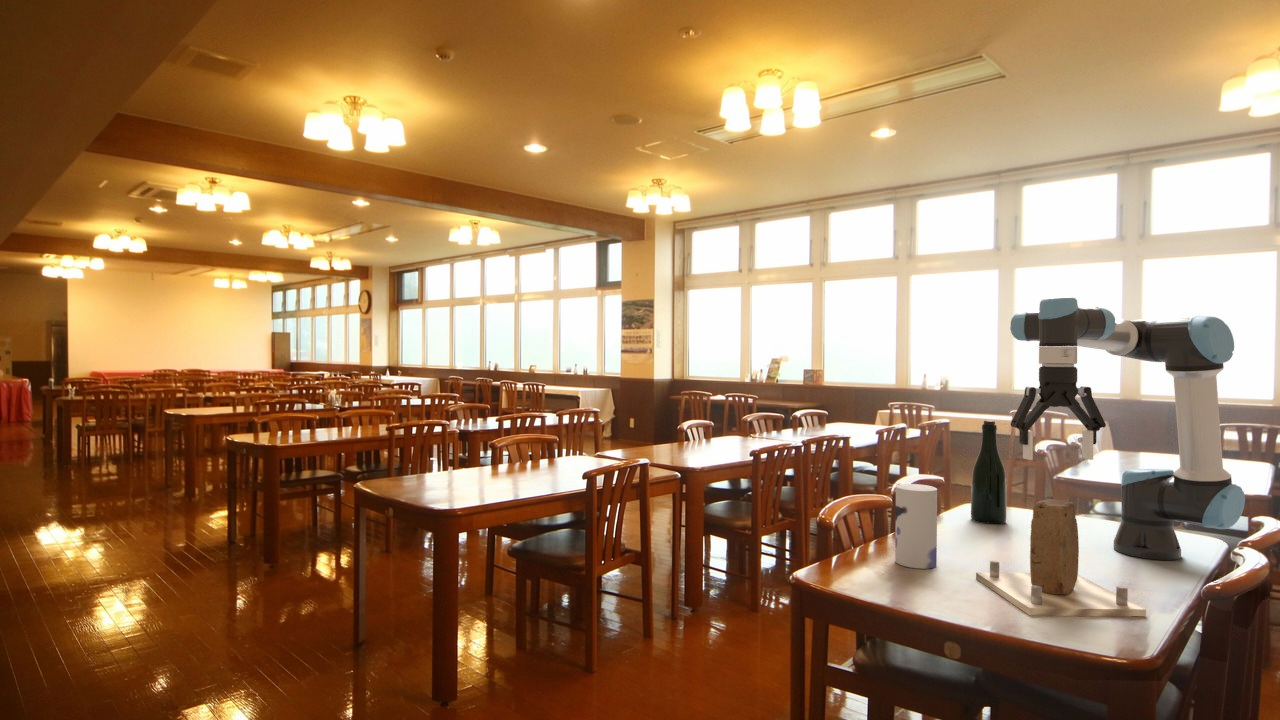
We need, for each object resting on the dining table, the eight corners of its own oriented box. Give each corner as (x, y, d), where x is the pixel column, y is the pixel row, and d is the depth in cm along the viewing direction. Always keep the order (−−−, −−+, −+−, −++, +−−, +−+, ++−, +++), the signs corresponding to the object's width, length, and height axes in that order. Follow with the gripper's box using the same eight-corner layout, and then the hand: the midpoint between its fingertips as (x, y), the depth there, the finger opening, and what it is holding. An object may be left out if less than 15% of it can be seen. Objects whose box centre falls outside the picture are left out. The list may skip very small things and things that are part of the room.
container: (888, 558, 186) (889, 483, 186) (924, 557, 187) (925, 483, 187) (906, 569, 176) (906, 490, 176) (944, 569, 177) (944, 490, 177)
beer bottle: (1000, 518, 234) (1001, 419, 233) (1011, 525, 223) (1012, 422, 223) (967, 516, 235) (967, 418, 235) (975, 524, 225) (976, 421, 225)
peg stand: (1075, 579, 169) (1075, 558, 169) (1145, 616, 145) (1146, 592, 145) (975, 578, 170) (976, 558, 170) (1029, 615, 146) (1030, 591, 146)
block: (1062, 599, 151) (1063, 506, 151) (1026, 589, 157) (1027, 500, 157) (1083, 589, 158) (1083, 500, 158) (1047, 580, 164) (1048, 495, 164)
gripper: (1011, 366, 155) (1011, 461, 155) (1124, 365, 155) (1124, 461, 155) (994, 365, 163) (994, 456, 163) (1102, 365, 163) (1101, 456, 163)
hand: (1057, 459), depth 159 cm, fingers open, 13 cm apart
